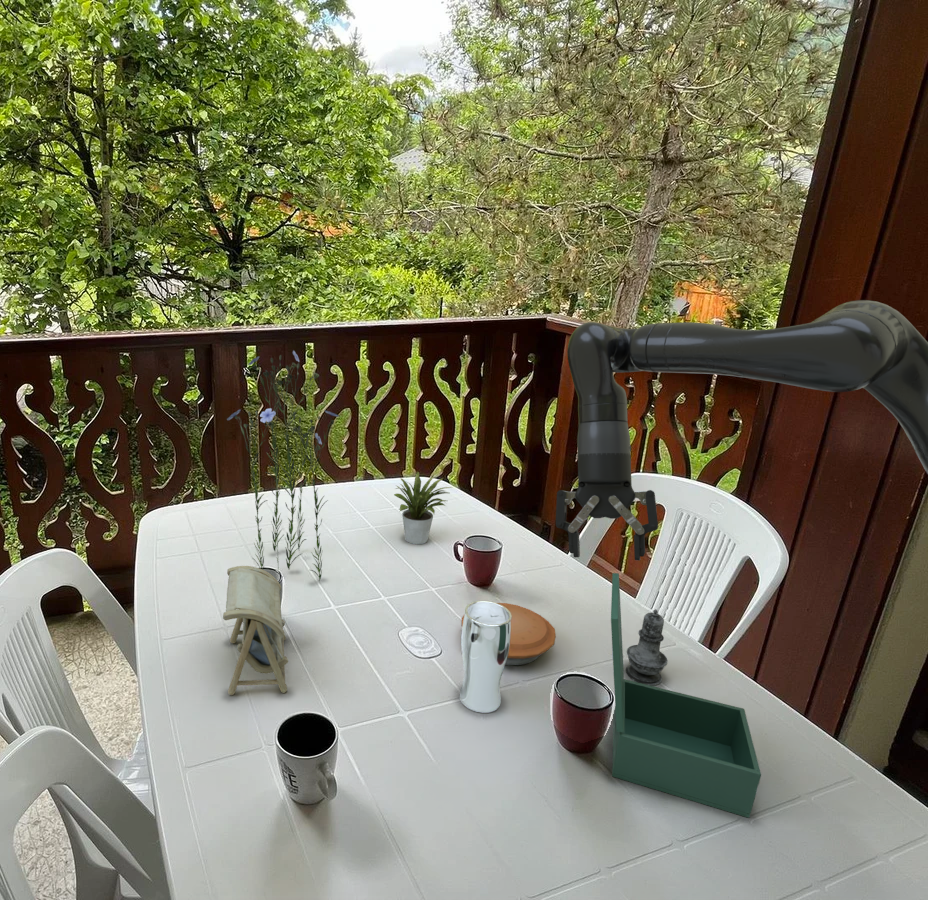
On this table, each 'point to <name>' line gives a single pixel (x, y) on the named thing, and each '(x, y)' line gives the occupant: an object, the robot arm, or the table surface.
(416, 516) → the house plant
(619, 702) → the lid
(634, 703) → the green open box
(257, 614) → the swing bench
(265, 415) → the wildflower
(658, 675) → the stone chess piece
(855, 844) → the table surface
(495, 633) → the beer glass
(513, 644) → the pie
